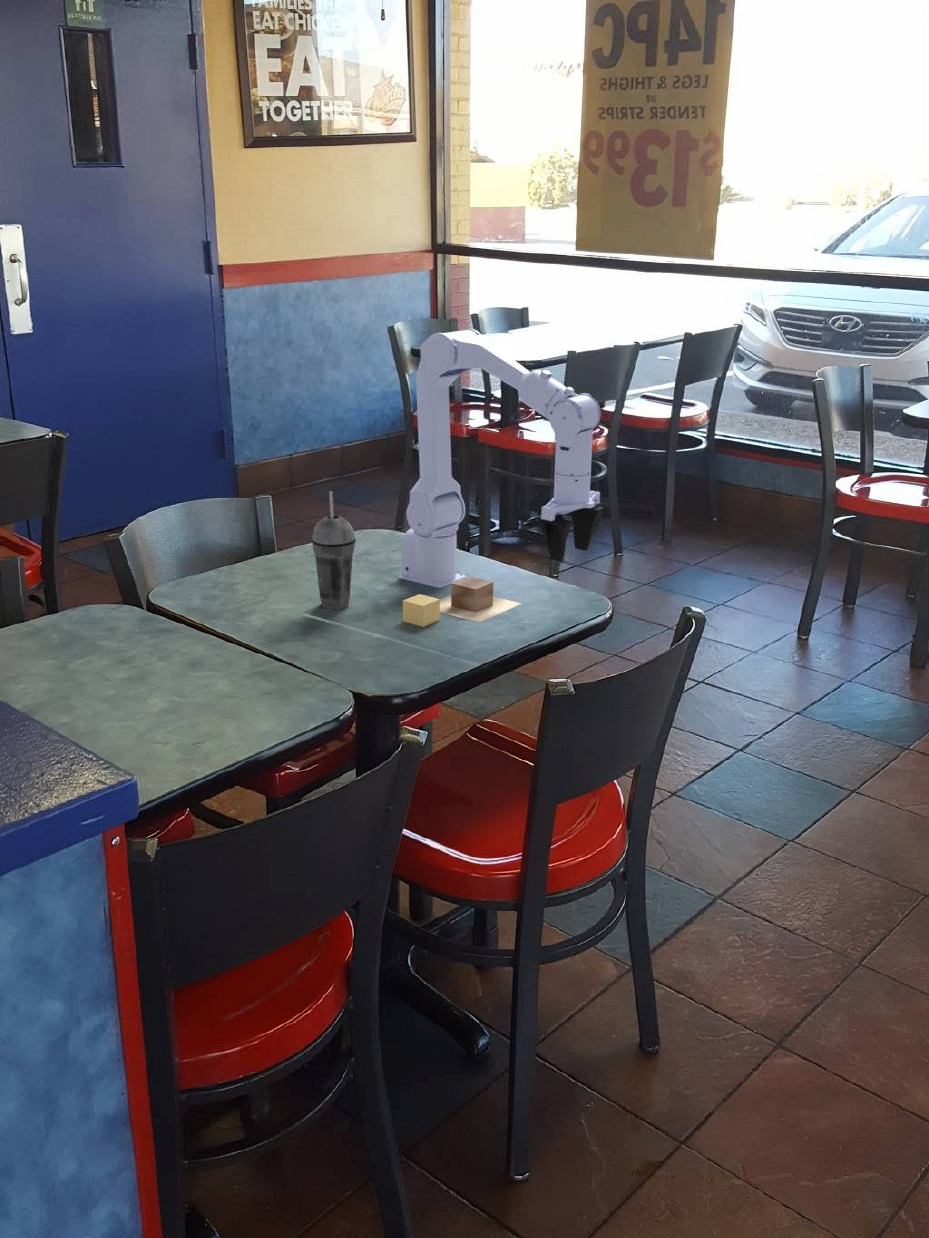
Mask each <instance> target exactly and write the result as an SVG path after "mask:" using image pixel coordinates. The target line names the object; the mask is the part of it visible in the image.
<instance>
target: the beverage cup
mask: <svg viewBox="0 0 929 1238" xmlns="http://www.w3.org/2000/svg"><path fill="white" fill-rule="evenodd" d="M333 498H334V497H333V491H331V490H330V491H329V509H330V510H329V511H330V515H328V516H325V517H323V518H322V519H320V520H319V521H318V522H317V523H316V524H315V526H314V527H313V532H312V537H311V544H312V551H313V554H314V557H315V566H316V573H317V583H318V591H319V597H320V598H319V600H320V604H321V607H322V608H324V609H327V610H342V609H346V608H347V607H349V605H350V600H351V599H350V598H351V584H352V569H353V554H354V553H355V543H356V541H357V539H356V536H355V535H356V534H355V532H354V531H355V530H354V529H353V526H352V525H351V524H350V522H349V521H348V520H346V519H345V518H343V517H342V516H340V515H334V499H333Z"/></svg>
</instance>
